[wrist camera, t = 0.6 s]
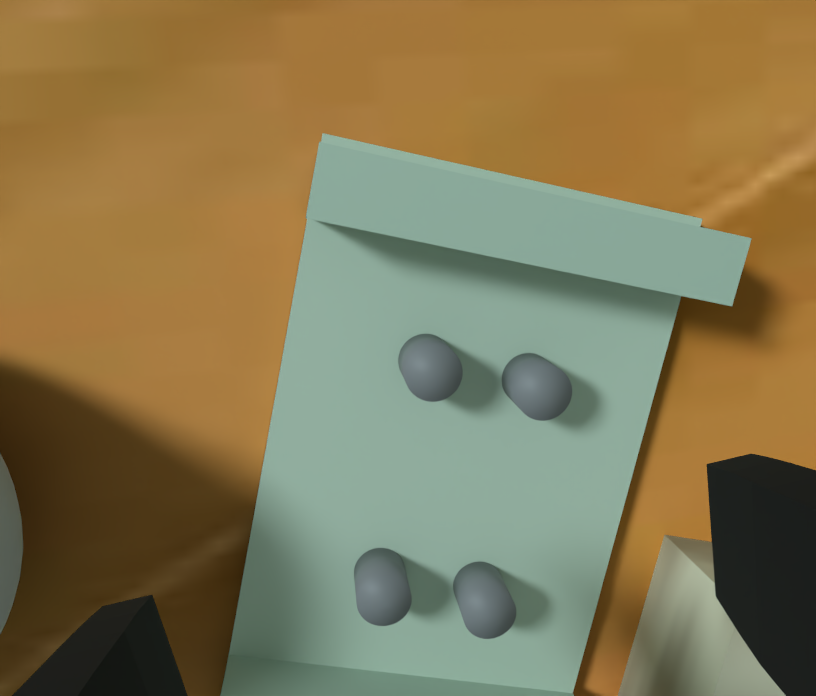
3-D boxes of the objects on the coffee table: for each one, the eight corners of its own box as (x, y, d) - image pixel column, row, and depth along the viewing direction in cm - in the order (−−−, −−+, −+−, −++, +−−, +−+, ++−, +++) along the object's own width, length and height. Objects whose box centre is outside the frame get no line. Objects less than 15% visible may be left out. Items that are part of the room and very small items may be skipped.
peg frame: (550, 737, 22) (585, 819, 19) (220, 704, 21) (203, 787, 18) (691, 218, 19) (756, 221, 16) (322, 135, 18) (323, 122, 15)
